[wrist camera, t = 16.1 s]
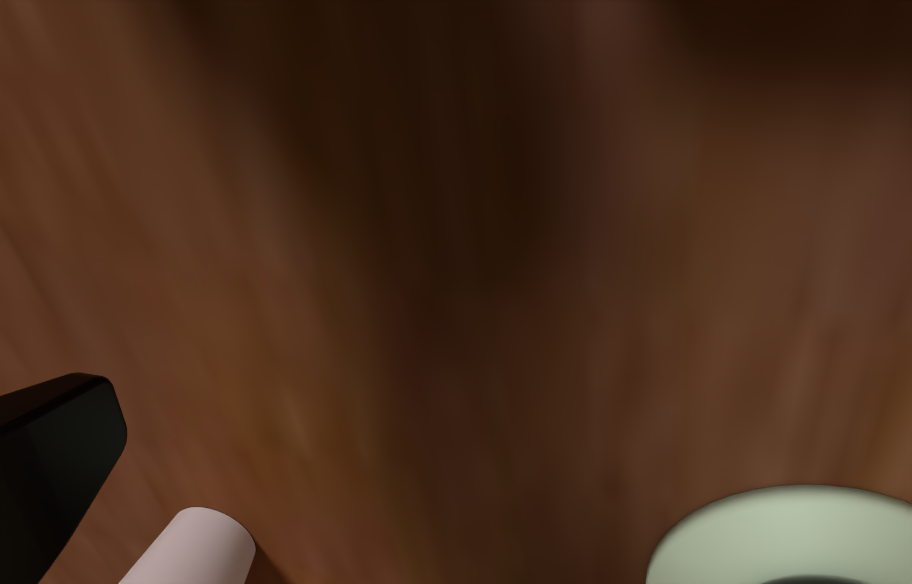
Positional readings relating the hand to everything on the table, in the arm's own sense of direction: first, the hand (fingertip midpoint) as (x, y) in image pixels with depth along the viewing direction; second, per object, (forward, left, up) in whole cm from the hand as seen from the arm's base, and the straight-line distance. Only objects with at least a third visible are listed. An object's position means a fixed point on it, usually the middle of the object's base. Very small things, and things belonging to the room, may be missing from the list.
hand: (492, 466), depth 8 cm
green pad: (+9, -18, -13) cm, 24 cm away
